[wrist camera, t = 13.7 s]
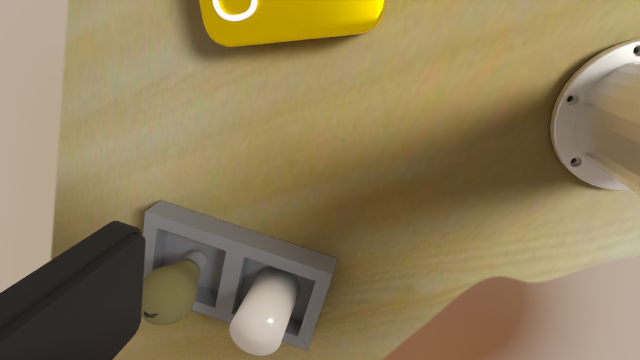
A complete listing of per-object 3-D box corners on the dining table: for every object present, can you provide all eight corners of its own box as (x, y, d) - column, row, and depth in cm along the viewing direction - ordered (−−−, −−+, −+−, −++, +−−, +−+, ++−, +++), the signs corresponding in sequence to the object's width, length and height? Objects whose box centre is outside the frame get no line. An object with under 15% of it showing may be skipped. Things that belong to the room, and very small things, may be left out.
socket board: (337, 258, 42) (333, 274, 39) (312, 331, 46) (307, 350, 44) (160, 200, 43) (145, 211, 41) (152, 276, 48) (137, 291, 45)
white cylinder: (304, 273, 43) (286, 323, 36) (294, 308, 45) (275, 362, 38) (261, 259, 43) (234, 305, 36) (252, 294, 45) (225, 345, 38)
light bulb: (194, 283, 46) (145, 344, 37) (168, 245, 45) (111, 300, 36) (231, 268, 45) (189, 329, 35) (205, 228, 43) (154, 281, 34)
